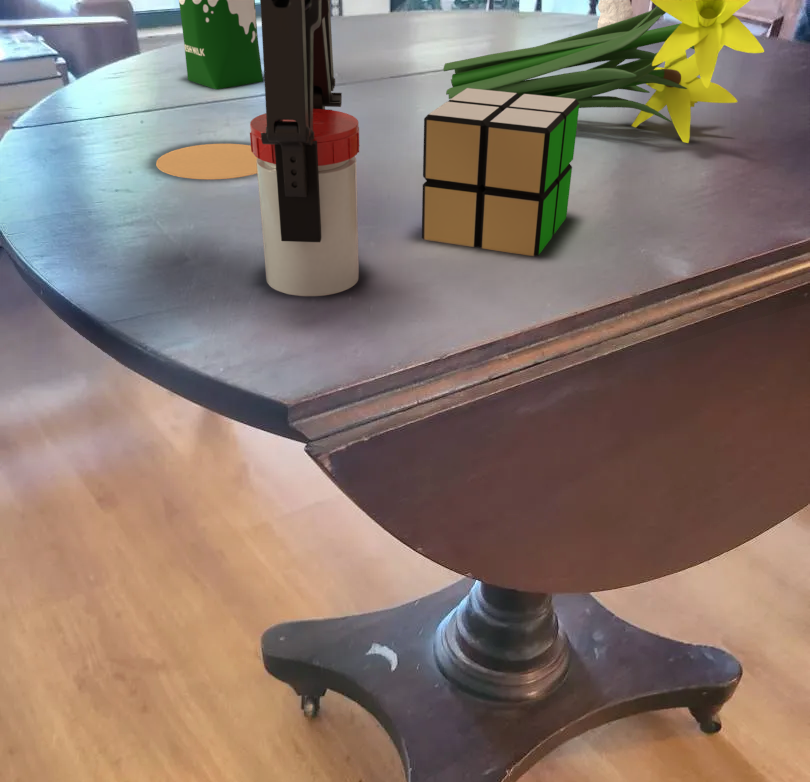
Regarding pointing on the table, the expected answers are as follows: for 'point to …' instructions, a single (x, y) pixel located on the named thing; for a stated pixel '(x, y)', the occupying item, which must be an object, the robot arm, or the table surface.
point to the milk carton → (221, 42)
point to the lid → (315, 137)
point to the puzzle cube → (498, 170)
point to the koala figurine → (614, 11)
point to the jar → (313, 261)
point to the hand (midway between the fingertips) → (309, 219)
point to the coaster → (209, 161)
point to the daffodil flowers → (675, 83)
